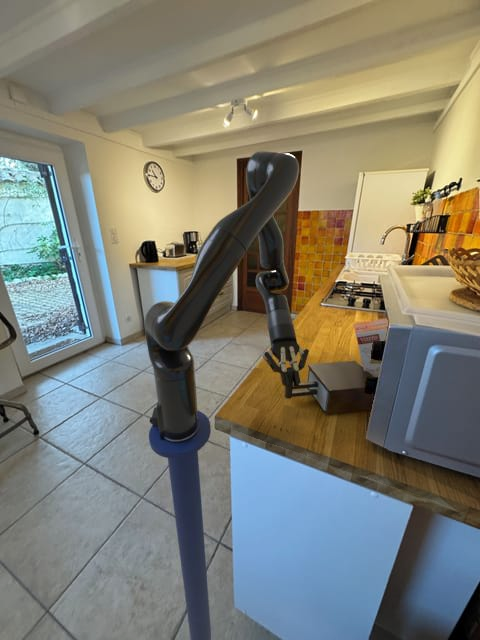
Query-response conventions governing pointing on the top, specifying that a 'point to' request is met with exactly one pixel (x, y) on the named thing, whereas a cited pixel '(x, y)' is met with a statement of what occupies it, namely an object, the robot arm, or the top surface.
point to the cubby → (343, 386)
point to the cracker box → (370, 342)
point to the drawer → (313, 386)
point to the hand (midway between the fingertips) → (292, 386)
